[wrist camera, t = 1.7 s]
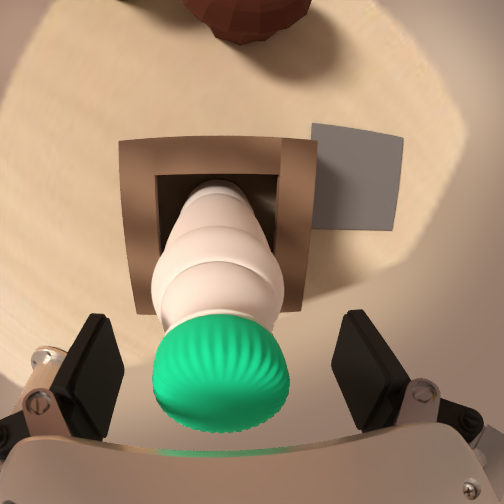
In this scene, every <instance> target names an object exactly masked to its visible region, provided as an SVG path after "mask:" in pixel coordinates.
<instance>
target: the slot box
mask: <svg viewBox="0 0 504 504" xmlns="http://www.w3.org/2000/svg"><path fill="white" fill-rule="evenodd" d="M317 147H318V141H316V140H305V139H292V138H277V137H256V136H183V137H162V138H147V139H135V140H124V141H119V174H120V191H121V205H122V216H123V226H124V235H125V244H126V252H127V259H128V266H129V272H130V279H131V285H132V290H133V296H134V301H135V307H136V312H137V314H142V315H157V314H156V311H155V308H154V305H153V301H152V294H151V284H152V277H153V273H154V269H155V267H156V264H157V262H158V260H159V258H160V257H161V255H162V251H161V239H160V226H159V210H158V189H157V175H172V174H278V176H277V195H276V213H275V230H274V246H273V255H274V257H275V258H276V260H277V262H278V264H279V266H280V269H281V272H282V276H283V281H284V298H283V304H282V307H281V310H280V312H298V311H301V307H302V300H303V293H304V285H305V277H306V269H307V261H308V252H309V243H310V233H311V223H312V213H313V202H314V190H315V177H316V163H317Z"/></svg>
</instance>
